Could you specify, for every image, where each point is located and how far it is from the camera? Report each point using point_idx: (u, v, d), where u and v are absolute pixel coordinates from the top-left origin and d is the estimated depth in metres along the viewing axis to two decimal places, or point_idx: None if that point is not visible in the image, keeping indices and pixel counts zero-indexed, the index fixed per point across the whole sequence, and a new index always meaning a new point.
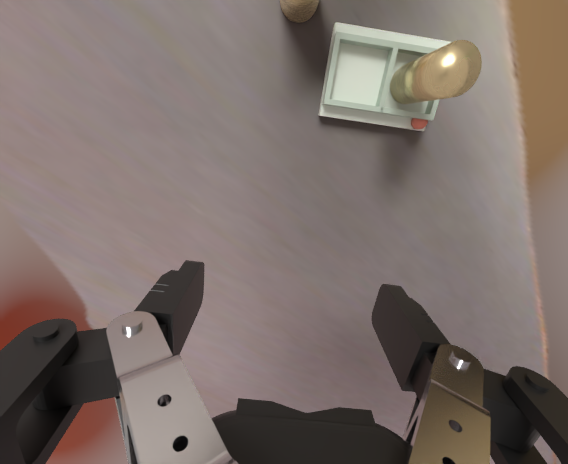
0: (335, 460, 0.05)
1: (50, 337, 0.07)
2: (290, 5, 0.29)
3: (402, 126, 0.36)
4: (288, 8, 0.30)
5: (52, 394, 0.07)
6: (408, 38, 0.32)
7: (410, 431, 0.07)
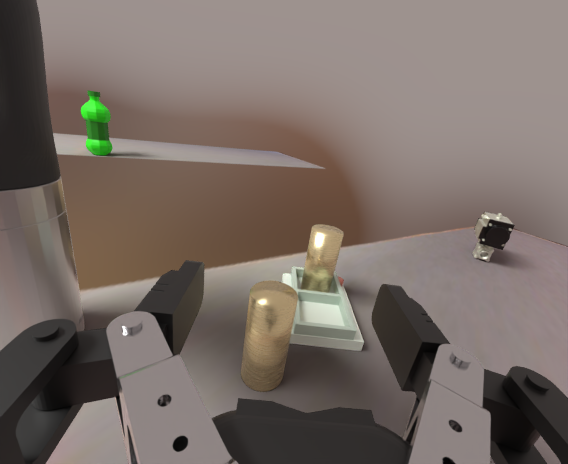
0: (335, 460, 0.05)
1: (50, 337, 0.07)
2: (287, 349, 0.27)
3: (344, 290, 0.44)
4: (284, 360, 0.27)
5: (52, 394, 0.07)
6: None
7: (410, 431, 0.07)
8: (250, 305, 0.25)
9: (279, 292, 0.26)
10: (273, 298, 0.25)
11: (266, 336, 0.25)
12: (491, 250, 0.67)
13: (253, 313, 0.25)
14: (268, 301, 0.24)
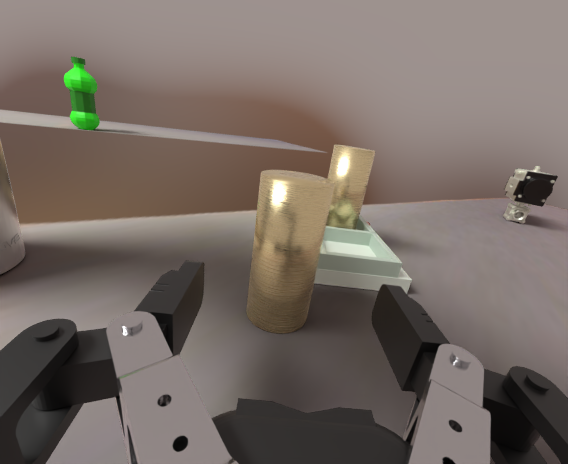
0: (335, 460, 0.05)
1: (50, 337, 0.07)
2: (316, 269, 0.18)
3: None
4: (312, 287, 0.18)
5: (52, 394, 0.07)
6: None
7: (410, 431, 0.07)
8: (262, 190, 0.16)
9: (305, 177, 0.17)
10: (297, 179, 0.16)
11: (287, 236, 0.16)
12: (527, 209, 0.58)
13: (266, 200, 0.16)
14: (291, 180, 0.16)
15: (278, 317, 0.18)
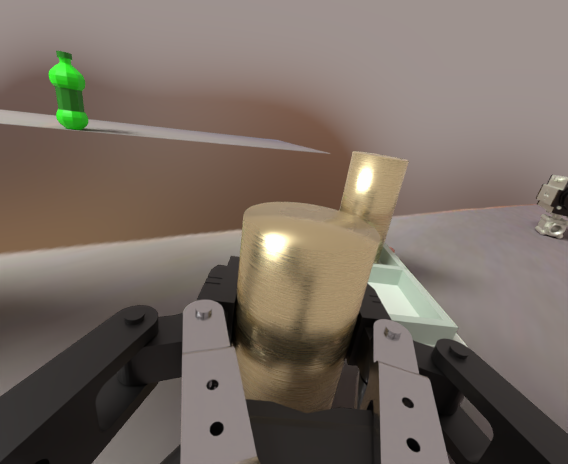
0: (335, 460, 0.05)
1: (139, 320, 0.08)
2: (340, 372, 0.11)
3: None
4: (332, 400, 0.11)
5: (131, 372, 0.08)
6: None
7: None
8: (245, 249, 0.08)
9: (324, 220, 0.10)
10: (312, 229, 0.09)
11: (292, 340, 0.08)
12: (566, 223, 0.51)
13: (252, 271, 0.08)
14: (300, 233, 0.08)
15: None
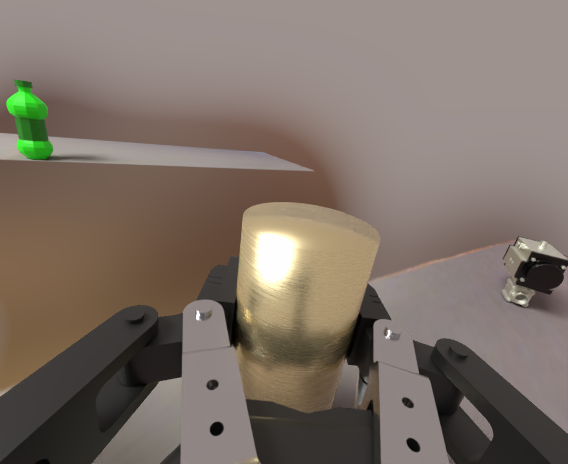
0: (335, 460, 0.05)
1: (139, 320, 0.08)
2: (340, 373, 0.11)
3: None
4: None
5: (131, 372, 0.08)
6: None
7: None
8: (244, 250, 0.08)
9: (323, 220, 0.10)
10: (311, 229, 0.08)
11: (292, 341, 0.08)
12: (531, 292, 0.48)
13: (252, 272, 0.08)
14: (299, 234, 0.08)
15: None
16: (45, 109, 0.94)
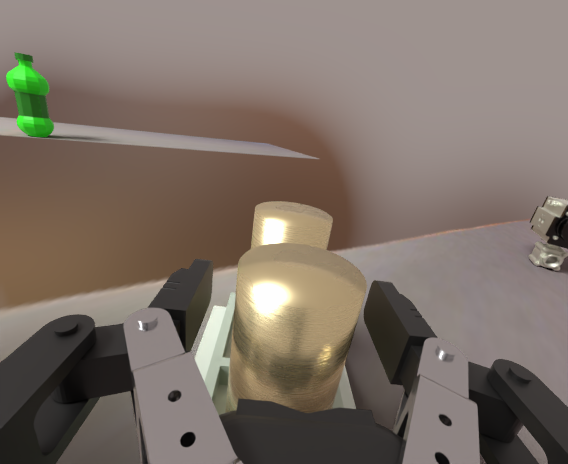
0: (335, 460, 0.05)
1: (70, 332, 0.07)
2: None
3: None
4: None
5: (70, 388, 0.07)
6: (201, 355, 0.18)
7: (400, 426, 0.07)
8: (239, 299, 0.09)
9: (314, 266, 0.10)
10: (302, 279, 0.09)
11: (283, 386, 0.09)
12: (564, 254, 0.44)
13: (246, 321, 0.09)
14: (290, 287, 0.09)
15: None
16: (46, 84, 0.92)
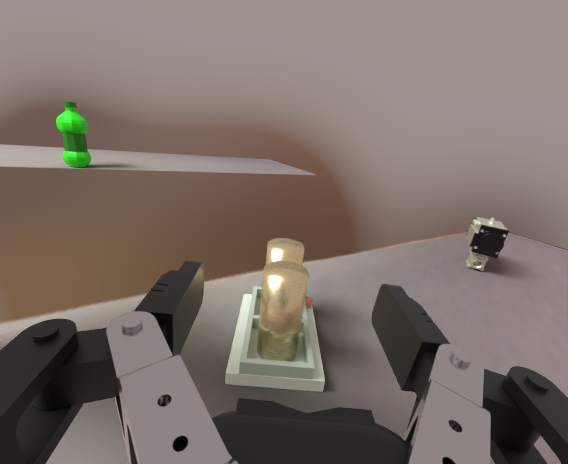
0: (335, 460, 0.05)
1: (50, 337, 0.07)
2: (300, 324, 0.29)
3: (312, 312, 0.38)
4: (298, 335, 0.29)
5: (52, 394, 0.07)
6: (241, 316, 0.35)
7: (410, 431, 0.07)
8: (264, 281, 0.27)
9: (290, 269, 0.28)
10: (285, 274, 0.27)
11: (280, 309, 0.26)
12: (485, 258, 0.61)
13: (267, 288, 0.26)
14: (281, 276, 0.26)
15: (276, 356, 0.28)
16: (86, 125, 1.12)
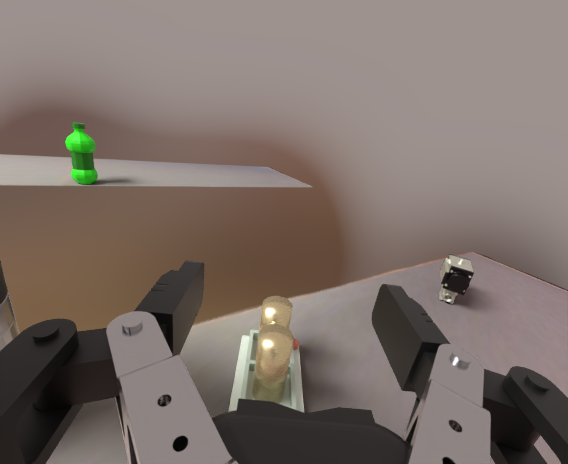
0: (335, 460, 0.05)
1: (50, 337, 0.07)
2: (286, 375, 0.37)
3: (298, 354, 0.46)
4: (284, 383, 0.37)
5: (52, 394, 0.07)
6: (240, 359, 0.43)
7: (410, 431, 0.07)
8: (258, 345, 0.35)
9: (279, 334, 0.36)
10: (275, 340, 0.35)
11: (270, 367, 0.34)
12: (454, 293, 0.69)
13: (260, 351, 0.34)
14: (271, 342, 0.34)
15: (267, 400, 0.36)
16: (94, 144, 1.18)
